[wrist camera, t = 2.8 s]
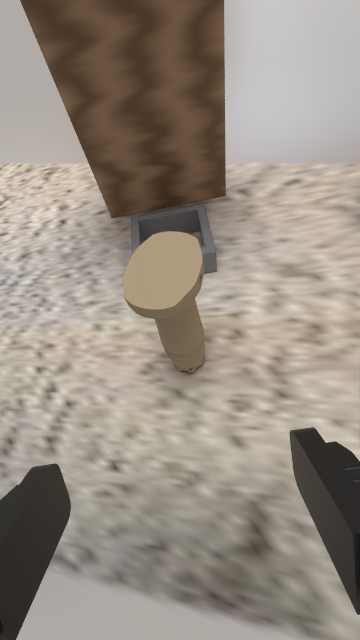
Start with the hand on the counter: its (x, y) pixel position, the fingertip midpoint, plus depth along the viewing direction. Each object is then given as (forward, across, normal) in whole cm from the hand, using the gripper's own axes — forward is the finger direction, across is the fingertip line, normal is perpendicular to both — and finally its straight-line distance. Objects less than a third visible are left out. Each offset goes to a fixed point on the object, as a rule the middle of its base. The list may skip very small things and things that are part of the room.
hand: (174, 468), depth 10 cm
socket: (+32, 0, -7) cm, 33 cm away
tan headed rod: (+21, 0, +4) cm, 21 cm away
